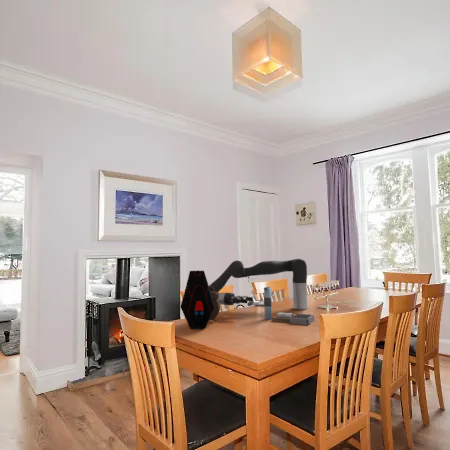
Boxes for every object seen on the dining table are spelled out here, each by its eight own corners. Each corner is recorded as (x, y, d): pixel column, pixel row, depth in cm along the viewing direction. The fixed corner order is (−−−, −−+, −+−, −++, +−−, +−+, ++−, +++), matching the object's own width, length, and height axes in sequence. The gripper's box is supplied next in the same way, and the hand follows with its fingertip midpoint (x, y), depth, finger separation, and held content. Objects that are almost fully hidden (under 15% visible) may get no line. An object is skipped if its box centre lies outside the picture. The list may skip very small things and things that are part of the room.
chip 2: (286, 320, 194) (286, 312, 194) (293, 320, 192) (293, 313, 192) (284, 321, 190) (284, 314, 190) (291, 321, 188) (291, 314, 189)
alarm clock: (221, 320, 195) (220, 285, 196) (219, 323, 188) (218, 286, 189) (196, 320, 197) (196, 285, 199) (193, 323, 190) (193, 287, 191)
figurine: (217, 326, 182) (216, 269, 184) (215, 329, 174) (214, 270, 176) (183, 326, 183) (182, 270, 185) (180, 329, 176) (179, 271, 178)
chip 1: (279, 319, 196) (279, 312, 196) (285, 319, 194) (285, 312, 194) (276, 320, 192) (276, 313, 192) (283, 321, 190) (283, 314, 191)
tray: (296, 318, 196) (296, 313, 196) (314, 320, 191) (314, 314, 191) (290, 323, 184) (289, 317, 184) (308, 325, 179) (308, 319, 180)
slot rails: (277, 317, 199) (277, 314, 200) (296, 319, 194) (296, 315, 195) (271, 321, 190) (271, 317, 190) (290, 322, 185) (290, 319, 185)
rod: (266, 317, 200) (265, 286, 202) (273, 318, 198) (272, 286, 200) (262, 319, 195) (262, 287, 196) (269, 320, 193) (268, 288, 194)
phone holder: (274, 291, 249) (272, 293, 238) (275, 304, 248) (272, 307, 237) (250, 290, 255) (247, 292, 244) (251, 303, 254) (247, 306, 243)
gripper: (231, 303, 216) (254, 304, 209) (220, 306, 204) (245, 308, 196) (231, 291, 217) (254, 292, 209) (220, 294, 204) (245, 295, 197)
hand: (250, 300), depth 203 cm, fingers open, 8 cm apart
